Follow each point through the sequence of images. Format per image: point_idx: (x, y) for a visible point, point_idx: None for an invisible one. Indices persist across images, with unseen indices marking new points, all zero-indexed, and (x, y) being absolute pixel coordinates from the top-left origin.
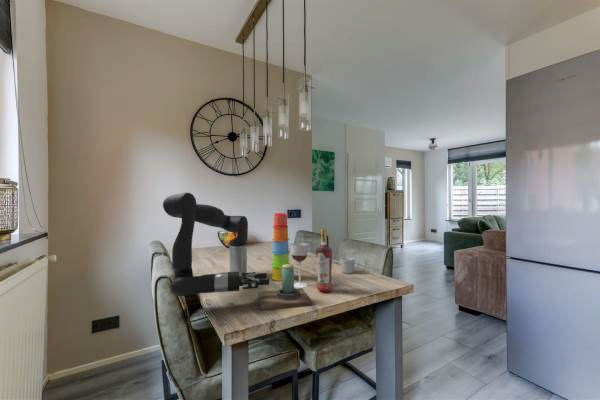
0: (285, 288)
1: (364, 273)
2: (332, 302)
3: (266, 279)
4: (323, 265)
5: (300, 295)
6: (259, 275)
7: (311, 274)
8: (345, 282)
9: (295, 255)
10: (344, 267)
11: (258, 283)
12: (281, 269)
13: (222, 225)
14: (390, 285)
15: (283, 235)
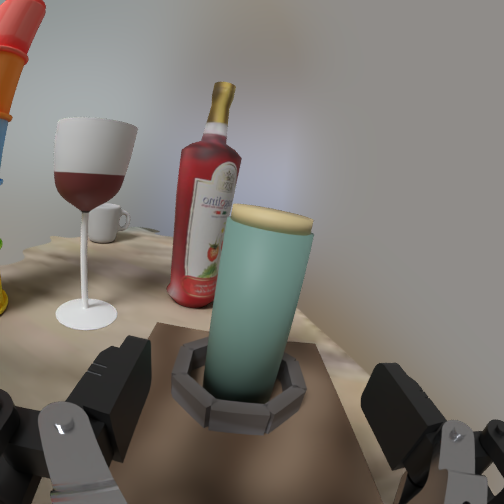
0: (278, 361)
1: (131, 236)
2: (294, 319)
3: (405, 374)
4: (227, 210)
5: None
6: (120, 415)
7: (39, 263)
8: (157, 262)
9: (98, 173)
10: (106, 227)
11: (475, 438)
12: None
13: None
14: None
15: (9, 89)
